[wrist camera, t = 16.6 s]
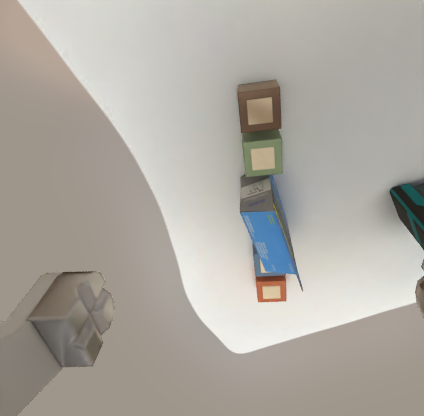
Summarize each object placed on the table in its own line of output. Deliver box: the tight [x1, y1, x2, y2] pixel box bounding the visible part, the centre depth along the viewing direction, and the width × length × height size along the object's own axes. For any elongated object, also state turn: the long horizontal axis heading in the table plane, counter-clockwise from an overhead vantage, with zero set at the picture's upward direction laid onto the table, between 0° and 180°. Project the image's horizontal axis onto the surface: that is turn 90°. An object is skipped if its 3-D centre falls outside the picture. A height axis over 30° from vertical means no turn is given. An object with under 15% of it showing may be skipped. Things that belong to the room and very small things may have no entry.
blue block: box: [253, 243, 286, 277], centre depth 42 cm, size 4×4×4 cm
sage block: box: [242, 129, 283, 177], centre depth 34 cm, size 4×4×4 cm
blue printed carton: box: [240, 175, 303, 291], centre depth 35 cm, size 9×4×12 cm, turn 22°
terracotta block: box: [256, 275, 286, 302], centre depth 45 cm, size 4×4×4 cm
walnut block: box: [238, 80, 281, 133], centre depth 32 cm, size 4×4×4 cm
